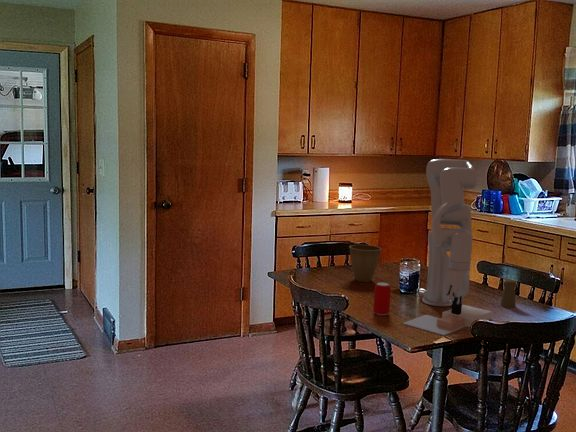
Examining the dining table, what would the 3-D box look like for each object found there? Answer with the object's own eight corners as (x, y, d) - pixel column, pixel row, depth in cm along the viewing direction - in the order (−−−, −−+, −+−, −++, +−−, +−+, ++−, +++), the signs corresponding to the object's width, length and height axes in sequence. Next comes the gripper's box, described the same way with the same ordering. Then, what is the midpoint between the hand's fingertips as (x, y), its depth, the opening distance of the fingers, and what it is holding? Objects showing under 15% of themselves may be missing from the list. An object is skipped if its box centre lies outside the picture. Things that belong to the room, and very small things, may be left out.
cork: (512, 309, 250) (514, 282, 248) (497, 305, 254) (500, 280, 252) (517, 306, 255) (520, 280, 253) (503, 303, 258) (505, 277, 257)
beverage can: (387, 311, 240) (389, 282, 238) (390, 316, 234) (392, 286, 232) (372, 311, 240) (373, 281, 238) (374, 316, 234) (376, 285, 232)
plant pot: (371, 285, 279) (373, 251, 277) (342, 280, 287) (344, 247, 285) (384, 279, 292) (386, 246, 289) (356, 274, 299) (357, 242, 297)
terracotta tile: (436, 326, 223) (437, 319, 223) (448, 321, 230) (449, 314, 229) (451, 330, 219) (452, 323, 219) (463, 324, 226) (464, 318, 225)
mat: (402, 324, 225) (402, 323, 225) (425, 315, 237) (425, 314, 237) (443, 335, 214) (444, 334, 214) (466, 326, 225) (466, 325, 225)
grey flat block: (441, 319, 232) (442, 312, 232) (462, 311, 244) (462, 304, 243) (471, 327, 224) (471, 319, 223) (490, 319, 235) (491, 311, 235)
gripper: (460, 261, 232) (456, 307, 235) (440, 266, 221) (436, 315, 224) (478, 264, 227) (474, 312, 230) (459, 270, 216) (455, 320, 219)
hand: (456, 313), depth 227 cm, fingers closed
